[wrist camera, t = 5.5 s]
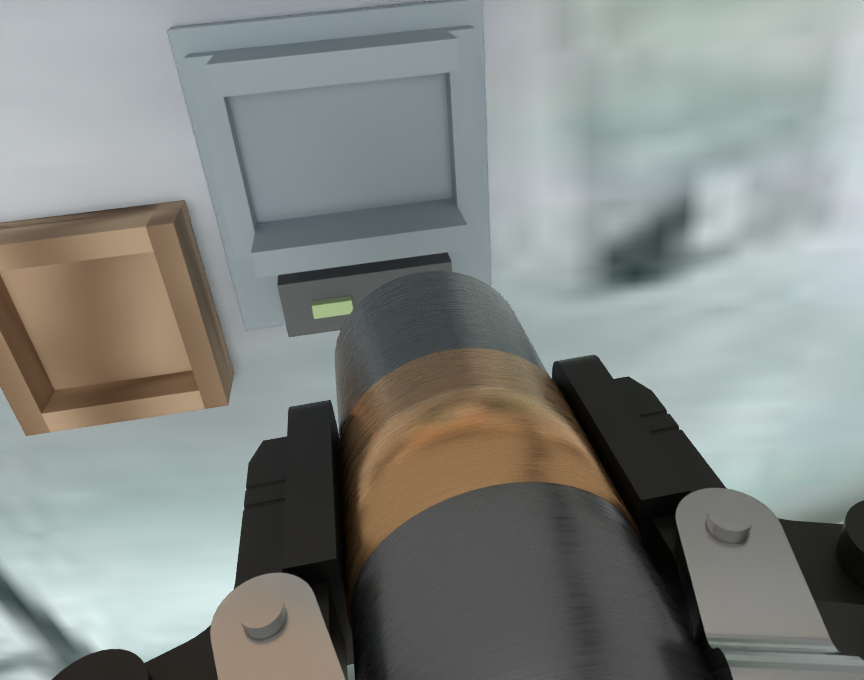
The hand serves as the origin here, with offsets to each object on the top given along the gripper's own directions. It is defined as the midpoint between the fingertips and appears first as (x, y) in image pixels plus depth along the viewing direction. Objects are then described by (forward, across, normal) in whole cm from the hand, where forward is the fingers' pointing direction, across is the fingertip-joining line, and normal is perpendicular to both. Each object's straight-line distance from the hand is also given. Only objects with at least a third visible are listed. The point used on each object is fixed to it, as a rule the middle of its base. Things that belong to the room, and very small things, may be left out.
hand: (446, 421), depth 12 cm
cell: (+2, 0, 0) cm, 2 cm away
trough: (+18, +12, +5) cm, 22 cm away
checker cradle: (+17, +1, +1) cm, 17 cm away
